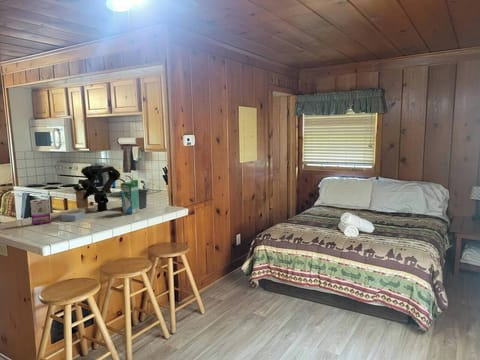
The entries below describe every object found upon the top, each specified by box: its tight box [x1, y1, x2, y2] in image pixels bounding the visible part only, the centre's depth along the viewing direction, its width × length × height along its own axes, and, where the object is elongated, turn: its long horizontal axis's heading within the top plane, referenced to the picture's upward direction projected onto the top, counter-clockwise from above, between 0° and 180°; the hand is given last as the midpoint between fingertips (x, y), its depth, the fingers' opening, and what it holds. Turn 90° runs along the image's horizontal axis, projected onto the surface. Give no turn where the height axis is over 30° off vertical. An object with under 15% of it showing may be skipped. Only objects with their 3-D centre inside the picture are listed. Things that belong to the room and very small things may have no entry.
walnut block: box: [75, 190, 89, 209], centre depth 259 cm, size 6×6×12 cm
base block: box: [60, 211, 87, 222], centre depth 252 cm, size 11×11×4 cm
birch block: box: [77, 206, 89, 214], centre depth 273 cm, size 5×5×8 cm
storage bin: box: [119, 188, 149, 210], centre depth 290 cm, size 21×16×14 cm
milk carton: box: [120, 179, 140, 215], centre depth 269 cm, size 9×9×25 cm
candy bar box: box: [29, 198, 52, 226], centre depth 240 cm, size 11×5×16 cm, turn 117°
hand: (80, 198), depth 258 cm, fingers closed on walnut block, 5 cm apart
